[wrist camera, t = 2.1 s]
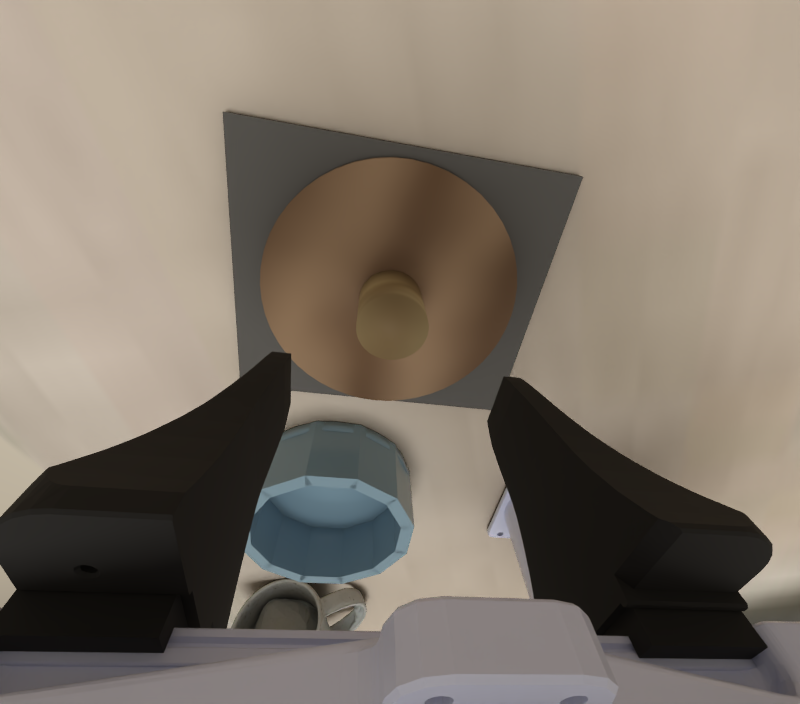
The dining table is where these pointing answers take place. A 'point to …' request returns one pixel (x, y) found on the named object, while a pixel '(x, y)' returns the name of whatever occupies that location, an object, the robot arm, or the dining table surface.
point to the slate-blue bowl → (332, 505)
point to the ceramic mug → (299, 608)
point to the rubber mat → (326, 150)
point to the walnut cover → (388, 279)
